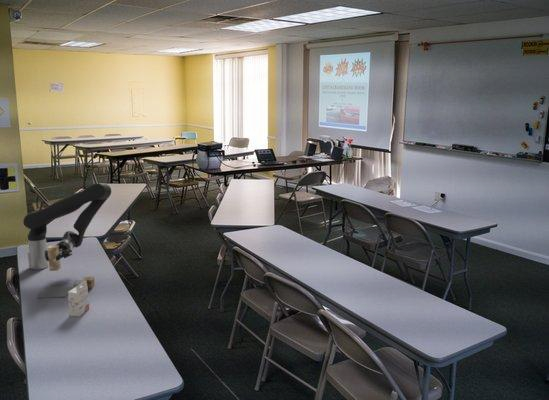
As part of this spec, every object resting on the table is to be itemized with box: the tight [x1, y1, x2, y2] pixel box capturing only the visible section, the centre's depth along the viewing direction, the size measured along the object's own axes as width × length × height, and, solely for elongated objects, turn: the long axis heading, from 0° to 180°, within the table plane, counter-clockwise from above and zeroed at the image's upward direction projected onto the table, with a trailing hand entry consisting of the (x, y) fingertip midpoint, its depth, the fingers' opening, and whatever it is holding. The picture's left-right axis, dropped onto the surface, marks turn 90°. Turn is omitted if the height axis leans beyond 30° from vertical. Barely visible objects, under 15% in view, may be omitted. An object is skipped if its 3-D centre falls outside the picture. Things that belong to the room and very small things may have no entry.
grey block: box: [72, 279, 86, 289], centre depth 243 cm, size 5×5×6 cm
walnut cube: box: [81, 276, 95, 290], centre depth 251 cm, size 5×5×5 cm
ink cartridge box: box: [67, 281, 90, 317], centre depth 221 cm, size 9×5×15 cm, turn 168°
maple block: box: [47, 244, 61, 272], centre depth 240 cm, size 4×4×12 cm
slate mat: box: [38, 285, 73, 299], centre depth 244 cm, size 13×13×1 cm
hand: (52, 258), depth 237 cm, fingers closed on maple block, 4 cm apart
